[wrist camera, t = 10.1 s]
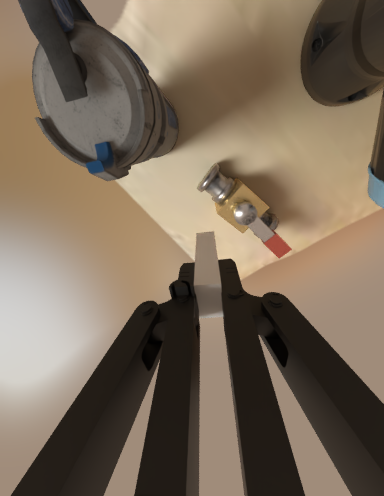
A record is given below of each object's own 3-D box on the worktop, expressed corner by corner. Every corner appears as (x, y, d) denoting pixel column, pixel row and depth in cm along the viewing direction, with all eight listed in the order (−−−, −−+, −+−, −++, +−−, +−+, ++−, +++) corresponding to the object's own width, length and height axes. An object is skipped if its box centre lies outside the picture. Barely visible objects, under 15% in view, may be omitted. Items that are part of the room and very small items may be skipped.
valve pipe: (195, 187, 39) (194, 196, 33) (216, 159, 36) (220, 163, 30) (252, 232, 44) (261, 248, 37) (274, 211, 41) (289, 225, 34)
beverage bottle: (168, 66, 29) (75, -153, 8) (185, 155, 36) (160, 172, 14) (112, 82, 30) (-103, -65, 9) (137, 165, 37) (49, 195, 16)
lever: (228, 212, 34) (230, 216, 32) (244, 196, 32) (247, 199, 30) (273, 254, 38) (276, 260, 36) (289, 242, 36) (294, 247, 34)
